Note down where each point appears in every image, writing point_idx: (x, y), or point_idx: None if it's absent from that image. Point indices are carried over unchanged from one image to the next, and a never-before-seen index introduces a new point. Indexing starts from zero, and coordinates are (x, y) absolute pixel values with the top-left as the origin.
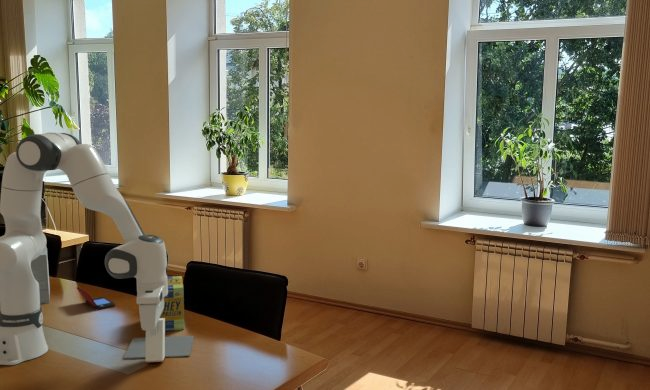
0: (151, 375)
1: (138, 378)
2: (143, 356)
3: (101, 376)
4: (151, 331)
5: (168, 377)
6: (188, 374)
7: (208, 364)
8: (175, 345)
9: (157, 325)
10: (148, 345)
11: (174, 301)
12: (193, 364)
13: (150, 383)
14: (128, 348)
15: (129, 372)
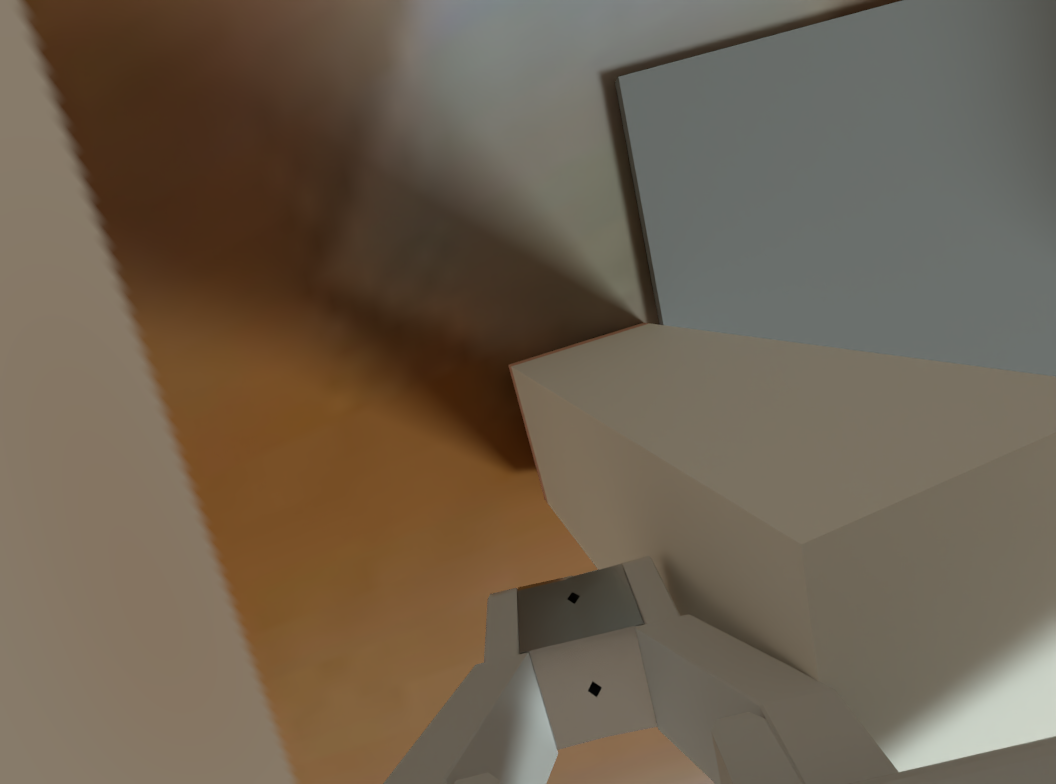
0: (348, 475)
1: (272, 400)
2: (666, 272)
3: (211, 38)
4: (490, 655)
5: (347, 601)
6: (424, 702)
7: (597, 763)
8: None
9: (683, 747)
10: (564, 427)
11: None
12: None
13: (220, 521)
14: (855, 20)
15: (357, 275)
